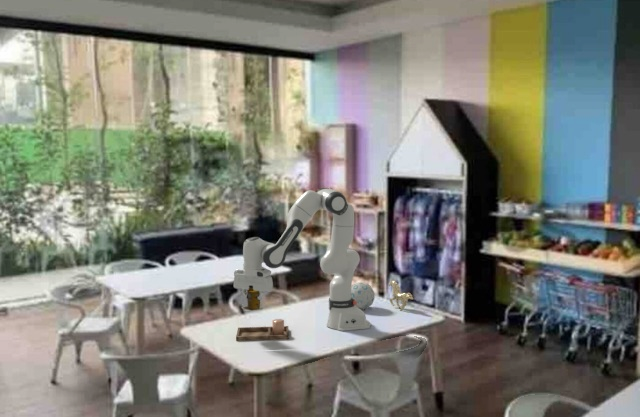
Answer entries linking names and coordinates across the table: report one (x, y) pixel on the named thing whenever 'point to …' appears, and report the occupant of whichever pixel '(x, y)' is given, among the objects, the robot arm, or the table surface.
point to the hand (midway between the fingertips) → (253, 298)
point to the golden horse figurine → (399, 295)
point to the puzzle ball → (362, 295)
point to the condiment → (252, 300)
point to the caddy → (260, 333)
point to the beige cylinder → (278, 327)
